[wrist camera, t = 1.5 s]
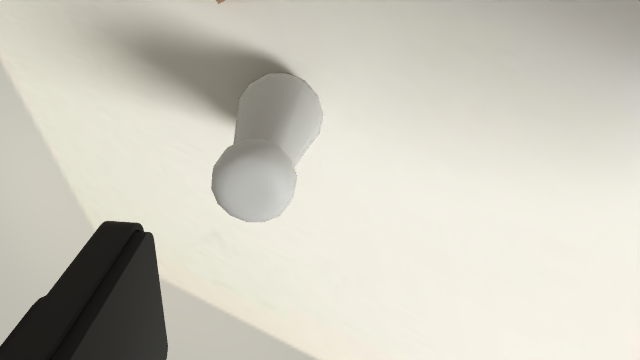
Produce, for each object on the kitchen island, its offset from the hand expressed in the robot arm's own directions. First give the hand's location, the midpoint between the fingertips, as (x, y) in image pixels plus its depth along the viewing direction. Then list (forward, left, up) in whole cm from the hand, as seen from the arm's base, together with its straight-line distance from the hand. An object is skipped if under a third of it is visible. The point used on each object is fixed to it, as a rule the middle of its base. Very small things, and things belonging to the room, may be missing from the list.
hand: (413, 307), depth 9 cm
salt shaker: (-2, +8, -27) cm, 29 cm away
